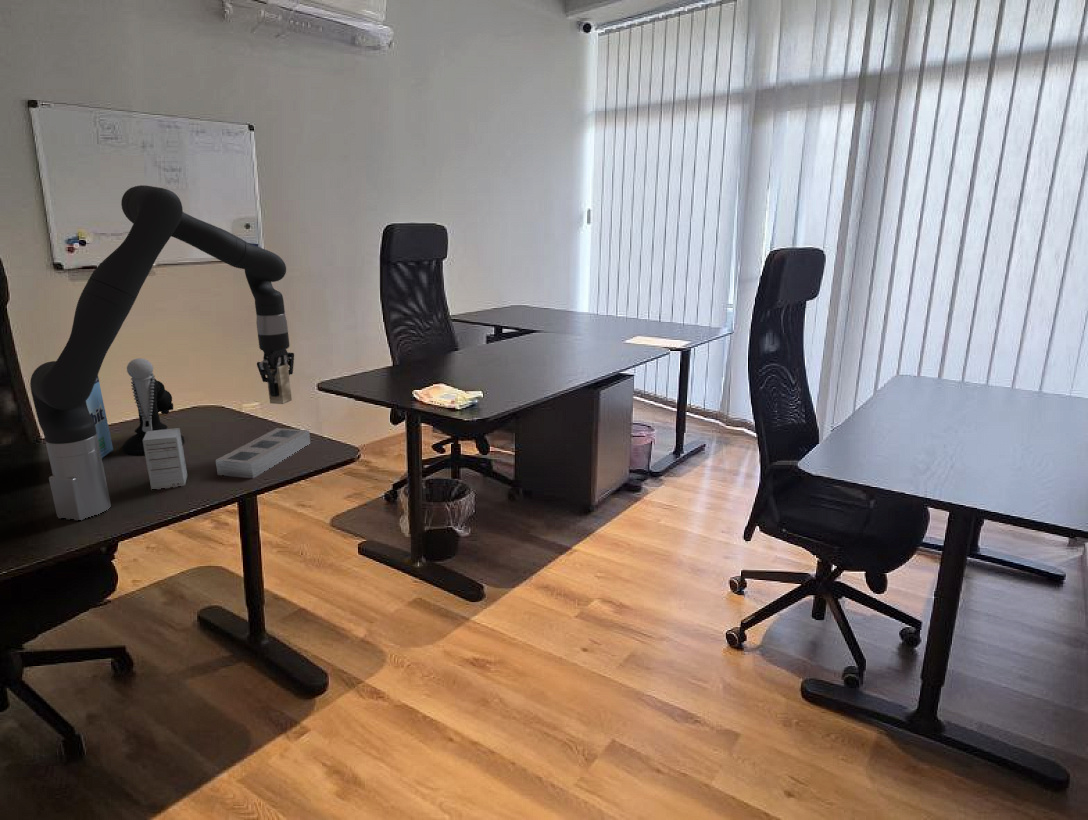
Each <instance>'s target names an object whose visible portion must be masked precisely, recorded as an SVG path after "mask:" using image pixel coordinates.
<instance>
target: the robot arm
mask: <svg viewBox="0 0 1088 820" xmlns="http://www.w3.org/2000/svg"><path fill="white" fill-rule="evenodd" d="M120 204H121V209H122V212H123V214H124V215H125V217H126V219H127V220H128V221H130V222H131V223H132V226H131V227H130V230H129V232H128V234H127V236H126V237H125V239H124V240H123V242H122V243H121V244H120V245H119V246H118V247H116V249H114V251H113V252H111V253H110V254H109V255H108V256H107V257H106V258H105V259H103V260H102V261H101V262H100V263H99V265H98V266H97V267H95V268H94V270H93V271H92V273H91V274H90V277H89V278H88V280H87V282H86V284H85V286H84V288H83V289H82V292H81V293H80V296H79V298H78V300H77V304H76V308H75V312H74V316H73V320H72V327H71V332H70V335H69V338H68V340H67V343H66V344H65V346H64V347H63V350H62V351H61V352H60V354H59V356H58V358H57V359H56V360H52V361H48V362H44V363H42V364H40V365H39V366H37V367H36V368H35V369H34V371H33V372H32V373H31V375H30V376H31V377H30V381H29V382H30V384H29V386H30V392H31V393H30V394H31V397H32V402H33V405H34V409H35V413H36V417H37V421H38V424H39V427H40V429H41V431H42V433H43V436H44V441H45V444H46V445H45V446H46V451H47V454H48V455H47V456H48V460H49V463H50V465H49V466H50V469H51V473H52V475H51V476H49V477H48V480H49V486H50V489H51V495H52V499H53V503H54V508H55V512H56V517H58V518H57V519H61V518H66V519H65V520H70V519H74V520H73V521H78V520H81V521H83V520H86V519H88V517H90V518H92V517H91V516H93V517H95V516H94V515H97V516H99V515H101V514H100V513H102V512H104V511H106V510H107V511H109V510H110V509H111V508H110V507H112V506H111V505H112V504H111V498H110V495H109V494H110V493H109V489H108V484H107V479H106V473H105V468H104V463H103V458H102V457H101V452H100V447H99V442H98V437H97V432H96V427H95V423H94V421H93V419H92V417H91V415H90V413H89V411H88V408H87V404H86V400H87V399H88V398H89V396H90V394H91V392H92V389H93V387H94V384H95V381H96V379H97V376H98V377H99V373H100V370H101V367H102V365H103V362H104V360H105V357H106V355H107V353H108V351H109V350H110V348H111V346H112V344H113V343H114V341H115V339H116V337H117V335H118V334H119V332H120V330H121V328H122V326H123V325H124V322H125V321H126V319H127V317H128V315H129V313H130V311H131V310H132V308H133V306H134V304H135V301H136V300H137V298H138V296H139V293H140V291H141V290H142V287H143V284H144V283H145V282H146V279H147V277H148V276H149V274H150V272H151V270H152V269H153V266H154V264H155V262H156V260H157V258H158V257H159V255H160V254H161V252H162V251H163V249H164V248H165V246H166V245H167V243H168V242H169V240H170V238H171V237H173V238H175V239H177V240H179V241H181V242H184V243H186V244H188V245H190V246H192V247H193V248H196V249H197V250H199V251H200V252H204V253H205V254H207V255H209V256H210V257H213V258H215V259H217V260H219V261H220V262H223V263H225V264H227V265H229V266H231V267H234V268H236V269H240V270H244V274H245V278H246V281H247V283H248V287H249V289H250V292H251V294H252V297H253V299H254V307H255V313H256V314H255V315H256V320H255V321H256V330H257V339H258V347H259V350H260V351H262V352H263V357H262V359H263V360H261V361H257V362H256V367H257V369H258V371H259V372H258V373H259V374H260V377H261V380H262V382H263V383H267V384H268V383H269V388H270V394H271V396H273V397H277V396H279V388H278V383H277V382H278V377H277V375H278V374H279V371H278V368H279V367H280V366H282V365H287V364H288V371H289V376H290V375H293V374H294V366H295V365H294V361H295V353H294V352H288V350H287V349H289V348H290V345H291V344H290V338H289V337H290V336H289V329H288V320H287V317H286V310H285V302H284V295H283V294H282V292H281V291H279V290H278V289H277V290H276V289H275V288H274V286H273V283H275V282H279V281H281V280H282V279H283V278H284V277H285V275H286V274H287V266H286V263H285V261H284V259H283V258H282V257H280V255H278V254H276V253H275V252H273V251H270V250H268V249H265V248H262V247H260V246H257V245H254V244H251V243H249V242H247V241H246V240H244V239H243V238H240V237H238V236H237V235H235V234H233V233H231V232H229V231H227V230H225V229H223V228H221V227H218V226H216V225H213V224H211V223H209V222H206V221H204V220H201V219H198V218H197V217H193V216H192V215H190V214H188V213H186V212H184V210H183V205H182V204H183V203H182V201H181V199H180V197H179V196H178V195H177V194H176V193H175V192H174V191H173V190H170V189H167V188H163V187H157V186H153V185H135V186H131V187H130V188H128V189H127V190H126V191H125V192H124V194H123V195H122V197H121V203H120ZM270 369H275V371H270ZM272 374H274V378H273V377H272ZM109 508H110V509H109ZM108 509H109V510H108ZM107 511H106V512H107ZM104 513H105V512H104ZM98 514H99V515H98ZM102 514H103V513H102ZM85 518H86V519H85Z"/></svg>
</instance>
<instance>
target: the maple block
mask: <svg viewBox="0 0 1088 820" xmlns="http://www.w3.org/2000/svg"><path fill="white" fill-rule="evenodd" d="M288 366H289V365H288V364H287V365H282V366H280V367H279V368H278V371H279V374H278V375H277V377H278V382H277V383H278V388H279V396H277V397H273V396H271V394H270V388H269V383H268V382H267V390H268V397H269V404H276V405H285V404H287V403H289V402H291V401H292V399H293V398H292V391H291V390H292V389H291V381H290V375H289V371H288V370H289V369H288ZM270 371H275V369H270ZM272 377H273V378H274V374H272Z"/></svg>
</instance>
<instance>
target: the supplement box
mask: <svg viewBox="0 0 1088 820" xmlns="http://www.w3.org/2000/svg"><path fill="white" fill-rule="evenodd" d="M181 436H182V434H181V429H180V427H178V428H176V427H175V428H167V429H164V430H155V431H147V432H146V434H145V436H144V438H143V446H144V452H145V455H144V457H145V463H146V468H147V469H146V470H147V473H148V479H149V484H150V490H151V491H153V490H152V489H157V490H162V489H161V488H165V489H171V488H170V487H173V488H179V487H178V486H181V487H185V486H186V482H187V478H188V471H187V465H186V459H185V458H186V457H185V454H184V453H185V452H184V446H183V445H182V440H181Z"/></svg>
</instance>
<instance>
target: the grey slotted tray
mask: <svg viewBox="0 0 1088 820" xmlns="http://www.w3.org/2000/svg"><path fill="white" fill-rule="evenodd" d="M309 444H310V445H311V435H310V430H309V429H308V430H306V429H294V428H293V429H292V428H281V427H280V428H279V427H277V428H274V429H272V430H271V431H269V432H267V433H265V434H263V435H261V436H259V437H258V438H255V439H254V440H252V441H250V442H248V443H247V442H246V444H244V445H241V446H240V447H238V448H236V449H234V450H232V451H231V452H229V453H226V454H224V455H222V456H220V457H219V458H217V459H215V465H216V472H217V476H222V475H224V477H233V478H234V477H235V478H246V479H255V478H256V477H258V476H260V475H261V474H263V473H265V472H266V471H268V470H270V469H271V468H273V467H275V466H277V465H278V464H280V463H281V462H283V461H285V460H286V459H288V458H290V457H292V456H293V455H295V454H296V453H298V452H300V451H301V450H300V449H302V448H303V449H305V448H306V447H305V446H307V445H308V446H309ZM308 446H307V447H308ZM304 447H305V448H304ZM303 449H302V450H303ZM299 450H300V451H299ZM297 451H298V452H297ZM295 452H296V453H295ZM294 453H295V454H294ZM292 454H293V455H292ZM289 456H290V457H289ZM287 457H288V458H287ZM284 459H285V460H284ZM282 460H283V461H282ZM279 462H280V463H279ZM274 465H275V466H274ZM269 468H270V469H269ZM264 471H265V472H264Z"/></svg>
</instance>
